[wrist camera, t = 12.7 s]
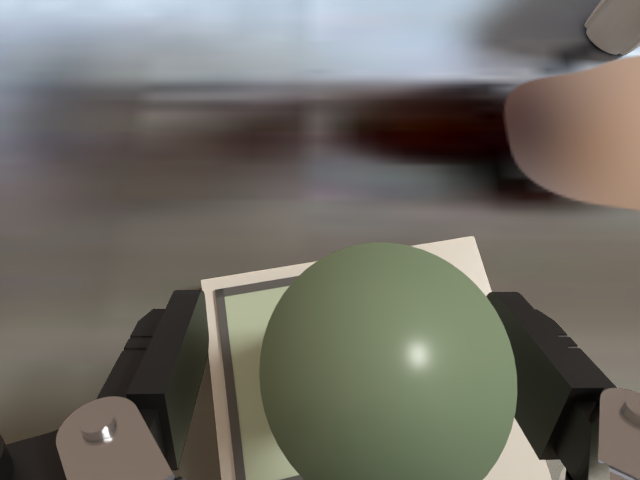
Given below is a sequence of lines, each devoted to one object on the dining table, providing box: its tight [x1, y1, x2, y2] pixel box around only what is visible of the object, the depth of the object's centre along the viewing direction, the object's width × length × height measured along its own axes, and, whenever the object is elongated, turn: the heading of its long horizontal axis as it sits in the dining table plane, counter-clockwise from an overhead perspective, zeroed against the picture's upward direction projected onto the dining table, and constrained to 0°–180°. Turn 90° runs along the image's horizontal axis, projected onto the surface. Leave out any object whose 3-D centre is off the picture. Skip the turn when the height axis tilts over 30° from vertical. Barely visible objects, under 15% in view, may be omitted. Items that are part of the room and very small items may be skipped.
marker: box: [259, 242, 517, 480], centre depth 12 cm, size 4×4×12 cm
